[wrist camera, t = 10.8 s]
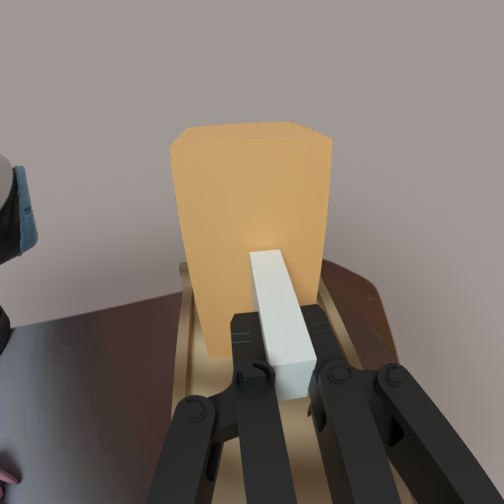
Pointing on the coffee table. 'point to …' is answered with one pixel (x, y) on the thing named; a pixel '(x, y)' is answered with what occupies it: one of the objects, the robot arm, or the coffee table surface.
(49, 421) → the coffee table surface
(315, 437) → the beam
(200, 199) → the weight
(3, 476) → the video game controller
